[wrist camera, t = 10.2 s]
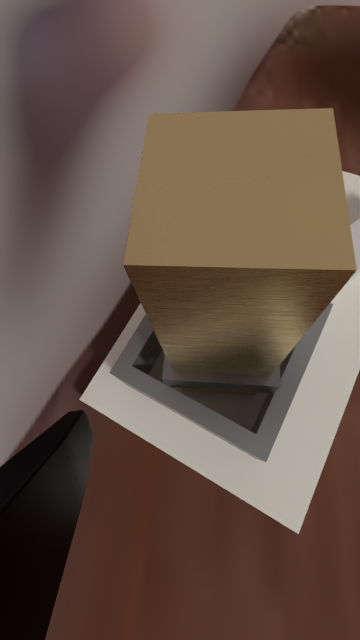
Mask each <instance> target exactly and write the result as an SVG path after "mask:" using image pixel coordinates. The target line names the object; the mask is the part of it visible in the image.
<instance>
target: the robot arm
mask: <svg viewBox="0 0 360 640" xmlns="http://www.w3.org/2000/svg"><path fill="white" fill-rule="evenodd" d="M92 444H93V434H92V430H91V427H90V424H89V421H88V418H87V415H86V413H85V411H83V410H78V411H70V412H68V413H67V414H65V415H64V416H63V417H62V418H61V419H59V420H58V421H57V422H56V423H54V424H53V425H52V426H51V427H49V428H48V429H47V430H46V431H44V432H43V433H42V434H41V435H39V436H38V437H37V438H36V439H34V440H33V441H32V442H31V443H30V444H28V445H27V446H26V447H25V448H23V449H22V450H21V451H20V452H18V453H17V454H16V455H15V456H13V457H12V458H11V459H10V460H8V461H7V462H6V463H5V464H3V465H2V466H1V467H0V640H45V637H46V634H47V630H48V626H49V623H50V619H51V615H52V612H53V608H54V604H55V601H56V597H57V593H58V590H59V586H60V582H61V579H62V575H63V571H64V568H65V564H66V560H67V557H68V553H69V549H70V546H71V542H72V538H73V535H74V531H75V527H76V524H77V520H78V516H79V513H80V509H81V506H82V501H83V497H84V493H85V487H86V481H87V475H88V469H89V463H90V456H91V450H92Z"/></svg>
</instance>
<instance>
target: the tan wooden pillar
mask: <svg viewBox="0 0 360 640" xmlns="http://www.w3.org/2000/svg"><path fill="white" fill-rule="evenodd" d="M123 266H124V268H125V270H126V272H127V274H128V277H129V279H130V281H131V283H132V285H133V287H134V289H135V291H136V294H137V296H138V298H139V300H140V302H141V304H142V306H143V308H144V311H145V313H146V315H147V317H148V319H149V321H150V323H151V326H152V328H153V330H154V332H155V334H156V336H157V338H158V340H159V343H160V345H161V347H162V349H163V351H164V353H165V356H164V366H163V376H162V380H163V381H164V383H165V384H166V386H169V387H181V389H182V390H185V391H200V392H215V393H230V394H245V395H255V394H256V393H257V392H260V393H274V392H275V391H277V390H278V389H279V388H280V387H281V379H280V364H281V362H282V361H283V360H284V359H285V358H286V356H287V355H288V354H289V353H290V351H291V350H292V349H293V348H294V347H295V345H296V344H297V343H298V342H299V340H300V339H301V338H302V337H303V336H304V334H305V333H306V332H307V331H308V329H309V328H310V327H311V326H312V325H313V323H314V322H315V321H316V320H317V318H318V317H319V316H320V315H321V314H322V312H323V311H324V310H325V309H326V307H327V306H328V305H329V304H330V303H331V301H332V300H333V299H334V298H335V296H336V295H337V294H338V293H339V292H340V290H341V289H342V288H343V287H344V285H345V284H346V283H347V282H348V281H349V279H350V278H351V277H352V276H353V274H354V273H355V272H356V271H357V268H356V262H355V255H354V248H353V241H352V234H351V228H350V221H349V214H348V207H347V200H346V194H345V187H344V180H343V173H342V166H341V160H340V153H339V146H338V139H337V132H336V126H335V119H334V112H333V108H323V109H291V110H258V111H228V112H194V113H162V114H149V117H148V123H147V129H146V135H145V140H144V146H143V152H142V158H141V164H140V169H139V175H138V181H137V187H136V193H135V198H134V205H133V210H132V216H131V222H130V228H129V234H128V240H127V245H126V251H125V257H124V262H123Z"/></svg>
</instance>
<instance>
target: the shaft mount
mask: <svg viewBox="0 0 360 640" xmlns="http://www.w3.org/2000/svg"><path fill="white" fill-rule="evenodd" d="M342 173H343V180H344V187H345V194H346V200H347V207H348V214H349V221H350V228H351V234H352V241H353V248H354V255H355V262H356V268H357V271H356V272H355V273H354V274H353V276H352V277H351V278H350V279H349V281H348V282H347V283H346V284H345V285H344V287H343V288H342V289H341V290H340V292H339V293H338V294H337V295H336V296H335V298H334V299H333V300H332V301H331V303H330V304H329V305H328V306H327V307H326V309H325V310H324V311H323V312H322V314H321V315H320V316H319V317H318V318H317V320H316V321H315V322H314V323H313V325H312V326H311V327H310V328H309V329H308V331H307V332H306V333H305V334H304V336H303V337H302V338H301V339H300V340H299V342H298V343H297V344H296V345H295V347H294V348H293V349H292V350H291V351H290V353H289V354H288V355H287V356H286V358H285V359H284V360H283V361H282V362H281V364H280V379H281V387H280V388H279V389H278V390H277V391H275V392H274V393H260V392H257V393H256V394H255V395H245V394H230V393H215V392H200V391H185V390H182V389H181V387H169V386H166V384H165V383H164V381H163V380H162V376H163V366H164V356H165V353H164V351H163V349H162V347H161V345H160V343H159V340H158V338H157V336H156V334H155V332H154V330H153V328H152V326H151V323H150V321H149V319H148V317H147V315H146V313H145V311H144V308H143V306H142V304H141V303H140V305H139V306H138V308H137V310H136V311H135V313H134V314H133V316H132V317H131V319H130V321H129V322H128V324H127V325H126V327H125V328H124V330H123V332H122V333H121V335H120V336H119V338H118V340H117V341H116V343H115V344H114V346H113V347H112V349H111V351H110V352H109V354H108V355H107V357H106V358H105V360H104V362H103V363H102V365H101V366H100V368H99V369H98V371H97V373H96V374H95V376H94V377H93V379H92V381H91V382H90V384H89V385H88V387H87V388H86V390H85V392H84V393H83V395H82V396H81V398H80V399H79V400H81V401H83V402H84V403H86V404H88V405H89V406H91V407H93V408H94V409H96V410H97V411H99V412H101V413H102V414H104V415H106V416H107V417H109V418H110V419H112V420H114V421H115V422H117V423H119V424H120V425H122V426H123V427H125V428H127V429H128V430H130V431H132V432H133V433H135V434H136V435H138V436H140V437H141V438H143V439H145V440H146V441H148V442H149V443H151V444H153V445H154V446H156V447H158V448H159V449H161V450H162V451H164V452H166V453H167V454H169V455H171V456H172V457H174V458H176V459H177V460H179V461H180V462H182V463H184V464H185V465H187V466H189V467H190V468H192V469H193V470H195V471H197V472H198V473H200V474H202V475H203V476H205V477H206V478H208V479H210V480H211V481H213V482H215V483H216V484H218V485H219V486H221V487H223V488H224V489H226V490H228V491H229V492H231V493H232V494H234V495H236V496H237V497H239V498H241V499H242V500H244V501H246V502H247V503H249V504H250V505H252V506H254V507H255V508H257V509H259V510H260V511H262V512H263V513H265V514H267V515H268V516H270V517H272V518H273V519H275V520H276V521H278V522H280V523H281V524H283V525H285V526H286V527H288V528H289V529H291V530H293V531H294V532H296V533H298V534H299V531H300V528H301V526H302V523H303V520H304V518H305V515H306V512H307V510H308V507H309V504H310V502H311V499H312V496H313V493H314V491H315V488H316V485H317V483H318V480H319V477H320V475H321V472H322V469H323V467H324V464H325V461H326V458H327V456H328V453H329V450H330V448H331V445H332V442H333V440H334V437H335V434H336V432H337V429H338V426H339V423H340V421H341V418H342V415H343V413H344V410H345V407H346V405H347V402H348V399H349V397H350V394H351V391H352V388H353V386H354V383H355V380H356V378H357V375H358V372H359V370H360V176H358V175H354V174H351V173H348V172H344V171H342Z"/></svg>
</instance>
